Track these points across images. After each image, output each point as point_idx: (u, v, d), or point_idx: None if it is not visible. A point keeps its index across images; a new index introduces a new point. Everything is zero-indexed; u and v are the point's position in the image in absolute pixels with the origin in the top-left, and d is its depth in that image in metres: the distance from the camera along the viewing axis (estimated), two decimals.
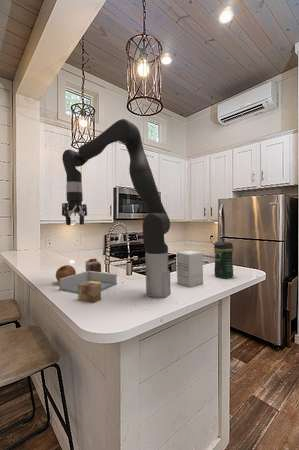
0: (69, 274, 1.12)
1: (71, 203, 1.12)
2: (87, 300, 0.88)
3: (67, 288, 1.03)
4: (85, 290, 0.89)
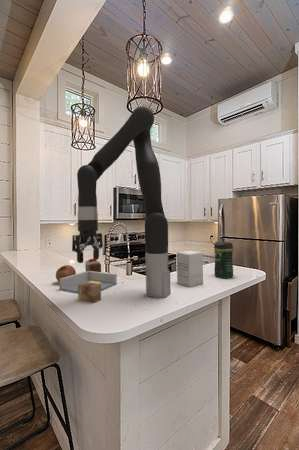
0: (69, 274, 1.12)
1: (84, 234, 0.87)
2: (87, 300, 0.88)
3: (67, 288, 1.03)
4: (85, 290, 0.89)
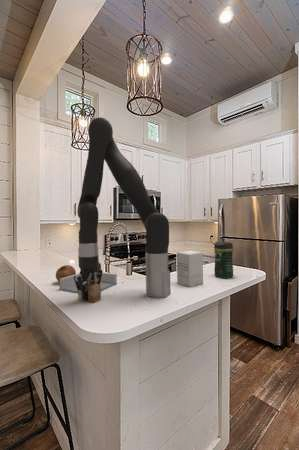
0: (69, 274, 1.12)
1: (84, 272, 0.87)
2: None
3: (67, 288, 1.03)
4: None
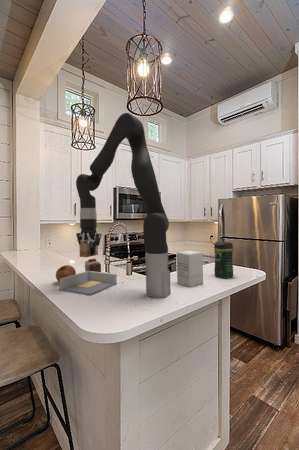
0: (69, 274, 1.12)
1: (81, 231, 1.09)
2: None
3: (67, 288, 1.03)
4: None
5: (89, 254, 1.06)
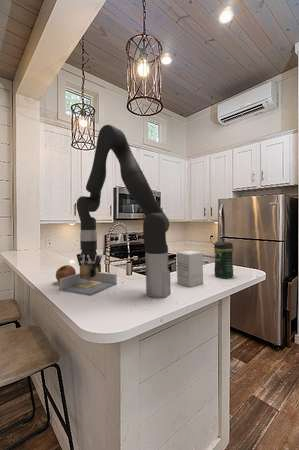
0: (69, 274, 1.12)
1: (81, 252, 1.10)
2: None
3: (67, 288, 1.03)
4: None
5: (89, 276, 1.07)
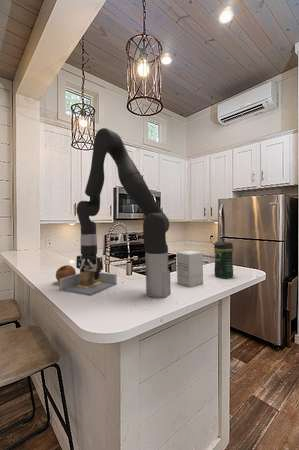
0: (69, 274, 1.12)
1: (82, 256, 1.10)
2: None
3: (67, 288, 1.03)
4: None
5: (90, 283, 1.07)
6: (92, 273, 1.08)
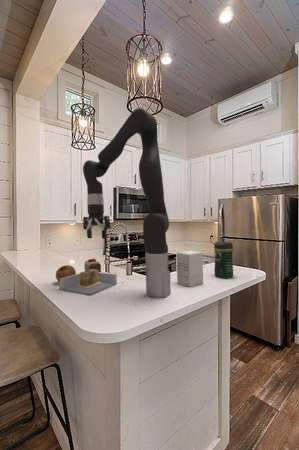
0: (69, 274, 1.12)
1: (89, 216, 1.11)
2: None
3: (67, 288, 1.03)
4: None
5: (90, 283, 1.07)
6: (92, 273, 1.08)
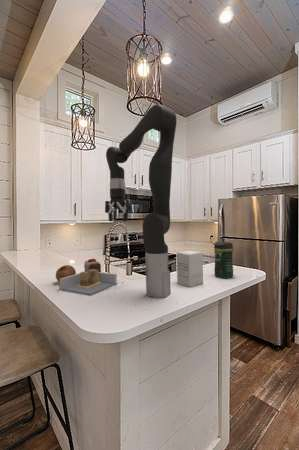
0: (69, 274, 1.12)
1: (111, 200, 1.16)
2: None
3: (67, 288, 1.03)
4: None
5: (90, 283, 1.07)
6: (92, 273, 1.08)
